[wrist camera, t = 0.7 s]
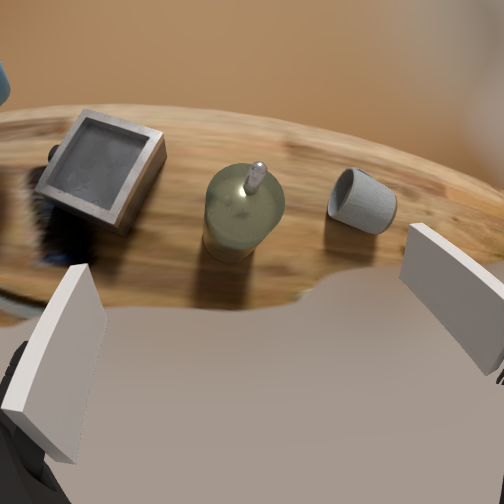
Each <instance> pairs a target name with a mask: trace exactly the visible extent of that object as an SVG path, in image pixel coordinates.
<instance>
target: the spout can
mask: <svg viewBox="0 0 504 504" xmlns="http://www.w3.org/2000/svg"><path fill="white" fill-rule="evenodd" d="M284 207H285V198H284V193H283V190H282V188H281V185H280V184H279V182H278V181H277V179H276V178H275V177H274V176H273V175H272V174H271V173H270V172H268V171H267V166H266V164H265V163H264V162H262V161H256V162H254V163H253V164H246V163H240V164H234V165H230V166H228V167H226V168H224V169H222V170H221V171H219V172H218V173H217V174H216V175H215V176H214V177H213V179H212V180H211V182H210V183H209V186H208V188H207V193H206V203H205V215H204V228H203V242H204V245H205V248H206V250H207V251H208V253H209V254H210V255H211V256H212V257H213V258H215V259H216V260H219V261H221V262H225V263H235V262H239V261H241V260H243V259H245V258H246V257H248V256H249V255H250V254H251V252H252V251H253V250H254V249H255V248H256V247H257V246H258V245H259V244H260V243H261V241H262V240H263V239H264V238H265V237H266V236H267V235H268V234H269V233H270V232H271V231H272V229H273V228H274V227H275V226H276V225H277V224H278V223H279V221H280V219H281V217H282V215H283V212H284Z"/></svg>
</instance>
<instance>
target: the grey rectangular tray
mask: <svg viewBox="0 0 504 504" xmlns="http://www.w3.org/2000/svg"><path fill="white" fill-rule="evenodd" d="M166 158H167V153H166V147H165V141H164V134H163V132H161V131H158V130H155V129H151V128H148V127H145V126H142V125H139V124H136V123H133V122H129V121H126V120H123V119H120V118H116V117H113V116H110V115H106V114H103V113H99V112H96V111H92V110H88V109H85V108H84V110H83V111H82V112H81V114H80V115H79V117H78V118H77V120H76V121H75V122H74V124H73V125H72V127H71V128H70V130H69V131H68V133H67V135H66V136H65V138H64V139H63V141H62V142H61V144H60V145H55V146H54V147H53V148H52V149H51V150H50V152H49V156H48V161H49V164H48V166H47V167H46V169H45V171H44V173H43V175H42V177H41V178H40V180H39V182H38V184H37V186H36V188H35V190H36V191H37V192H38V193H40V194H41V195H42V196H43V197H44V198H45V199H47V200H48V201H49V202H50V203H52V204H53V205H54V206H56V207H58V208H60V209H62V210H64V211H67V212H69V213H71V214H73V215H75V216H78V217H80V218H82V219H84V220H86V221H89V222H91V223H93V224H95V225H98V226H100V227H102V228H104V229H107V230H109V231H111V232H114V233H116V234H118V235H120V236H123V237H125V238H127V236H128V233H129V231H130V229H131V227H132V225H133V223H134V220H135V218H136V216H137V214H138V212H139V210H140V208H141V206H142V204H143V202H144V200H145V198H146V196H147V194H148V192H149V190H150V188H151V186H152V184H153V182H154V180H155V178H156V176H157V174H158V173H159V171H160V169H161V167H162V165H163V163H164V161H165V160H166Z"/></svg>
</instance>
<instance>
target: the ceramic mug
mask: <svg viewBox="0 0 504 504" xmlns="http://www.w3.org/2000/svg"><path fill="white" fill-rule="evenodd" d="M396 212H397V198H396V196H395V194H394V193H393V192H392V191H391V190H390V189H389V188H387V187H386V186H384V185H383V184H381V183H379V182H377V181H375V180H374V179H373V178H372V177H371V176H370V175H369V174H368V173H366V172H365V171H363V170H361V169H359V168H355V167H354V168H353V167H350V168H347V169H346V170H345V171H344V172H343V173H342V174H341V175H340V177H339V178H338V180H337V182H336V183H335V185H334V187H333V190H332V192H331V196H330V198H329V203H328V214H329V216H330V217H331V218H333V219H336V220H339V221H341V222H343V223H346V224H348V225H351V226H353V227H355V228H358V229H360V230H362V231H364V232H367V233H370V234H381V233H383V232H384V231H385V230H387V229H388V227H389V226H390V225H391V224H392V222H393V220H394V218H395V215H396Z"/></svg>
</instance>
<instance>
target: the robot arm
mask: <svg viewBox="0 0 504 504" xmlns="http://www.w3.org/2000/svg"><path fill="white" fill-rule="evenodd" d="M9 95H10V85H9V82H8V79H7V76H6V74H5V72H4V69H3V66H2V64H1V62H0V106H1V105H2V104H3V103H4V102H5V101H6V100H7V99H8V97H9ZM399 279H401V281H403V283H404V284H405V285H406V286H407V287H408V288H409V289H410V290H411V291H412V292H413V293H414V294H415V295H416V296H417V297H418V298H419V299H420V300H421V302H422V303H423V304H424V305H425V306H426V307H427V308H428V309H429V310H430V311H431V312H432V314H433V315H434V316H435V317H436V318H437V319H438V320H439V321H440V322H441V324H442V325H444V327H445V328H446V329H447V330H448V332H449V333H450V334H451V335H452V336H453V337H454V338H455V340H456V341H457V342H458V343H459V344H460V345H461V346H462V348H463V349H464V350H465V351H466V353H467V354H468V355H469V356H470V357H471V359H472V360H473V361H474V362H475V364H476V365H477V366H478V367H479V369H480V370H481V371H482V372H483V373H484V375H485V376H487V375H489V374H490V373H492V372H494V371H495V370H497V369H498V368H499V366H500V364H501V363H502V361H503V359H504V284H502V283H501V282H500V281H499V280H498V279H496V278H495V277H494V276H493V275H492V274H490V273H489V272H488V271H486V270H485V269H484V268H483V267H482V266H480V265H479V264H478V263H477V262H475V261H474V260H473V259H471V258H470V257H469V256H468V255H466V254H465V253H464V252H462V251H461V250H460V249H458V248H457V247H456V246H454V245H453V244H452V243H450V242H449V241H447V240H446V239H445V238H443V237H442V236H440V235H439V234H438V233H436V232H435V231H433V230H432V229H430V228H429V227H428V226H426V225H425V224H423V223H416V224H409V230H408V236H407V242H406V247H405V252H404V257H403V262H402V267H401V272H400V276H399ZM107 323H108V319H107V316H106V314H105V311H104V309H103V306H102V303H101V301H100V298H99V295H98V293H97V290H96V287H95V284H94V281H93V279H92V276H91V273H90V270H89V267H88V264H80V265H73V266H70V268H69V269H68V271H67V273H66V274H65V276H64V278H63V279H62V281H61V283H60V284H59V286H58V288H57V289H56V291H55V293H54V295H53V296H52V298H51V300H50V302H49V303H48V305H47V307H46V309H45V311H44V313H43V314H42V316H41V318H40V320H39V322H38V324H37V326H36V328H35V330H34V332H33V334H32V336H31V338H30V340H29V341H24V342H23V344H22V345H21V346H20V347H19V348H18V349H17V350H16V351H15V353H14V355H13V357H12V359H11V361H10V363H9V364H10V366H8V368H7V370H6V372H5V376H4V377H3V379H2V381H1V384H0V504H71V503H70V501H69V500H68V498H67V497H66V495H65V493H64V492H63V490H62V489H61V487H60V485H59V484H58V482H57V480H56V478H55V477H54V475H53V473H52V471H51V470H50V468H49V466H48V465H47V464H46V463H45V461H44V456H45V453H46V454H48V455H49V456H50V457H51V458H52V459H53V460H55V461H56V462H63V463H69V464H77V458H78V451H79V445H80V439H81V431H82V427H83V421H84V416H85V411H86V406H87V401H88V396H89V392H90V387H91V383H92V379H93V375H94V371H95V366H96V363H97V359H98V355H99V351H100V347H101V343H102V340H103V336H104V332H105V329H106V326H107ZM503 377H504V369H503V371H502V372H501V374H500V375H499V377H498V378H497V381H496V384H499V382H500V381H501V379H502V378H503ZM502 385H504V380H503V382H502ZM499 504H504V477H503V484H502V491H501V497H500V503H499Z"/></svg>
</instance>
